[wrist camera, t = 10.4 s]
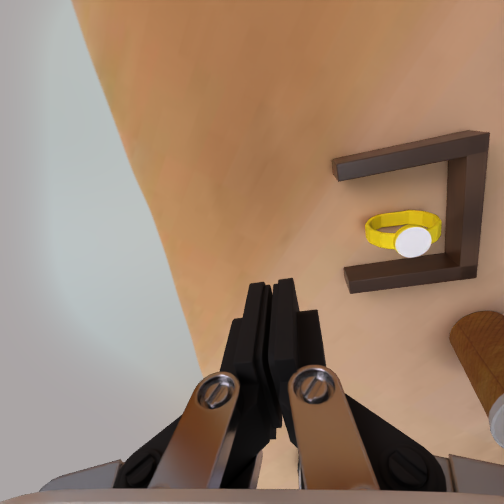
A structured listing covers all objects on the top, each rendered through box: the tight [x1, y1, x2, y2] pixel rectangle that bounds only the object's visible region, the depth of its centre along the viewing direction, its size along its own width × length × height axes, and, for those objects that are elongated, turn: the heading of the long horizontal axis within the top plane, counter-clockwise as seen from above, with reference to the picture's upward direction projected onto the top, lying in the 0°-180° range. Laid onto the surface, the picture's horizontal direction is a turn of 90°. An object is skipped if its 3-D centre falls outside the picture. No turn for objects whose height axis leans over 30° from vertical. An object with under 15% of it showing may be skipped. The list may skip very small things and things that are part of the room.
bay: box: [332, 130, 490, 294], centre depth 28 cm, size 13×12×3 cm
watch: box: [365, 210, 442, 258], centre depth 27 cm, size 6×3×6 cm, turn 102°
